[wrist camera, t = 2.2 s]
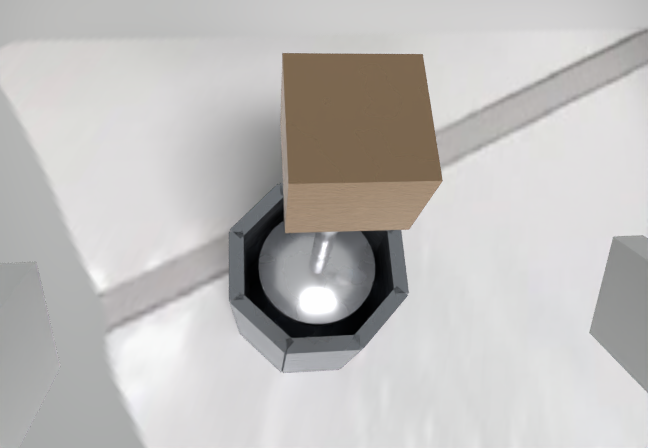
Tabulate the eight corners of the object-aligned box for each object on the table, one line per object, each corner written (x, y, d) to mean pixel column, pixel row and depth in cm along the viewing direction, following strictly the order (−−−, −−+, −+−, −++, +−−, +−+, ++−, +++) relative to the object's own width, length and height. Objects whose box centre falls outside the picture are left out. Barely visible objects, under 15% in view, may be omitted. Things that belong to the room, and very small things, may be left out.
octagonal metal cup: (367, 236, 41) (394, 180, 32) (380, 367, 38) (415, 346, 29) (238, 240, 40) (228, 183, 31) (239, 375, 37) (229, 357, 28)
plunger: (367, 214, 33) (451, 26, 17) (378, 323, 30) (486, 215, 15) (257, 217, 32) (245, 24, 17) (260, 328, 30) (248, 222, 14)
